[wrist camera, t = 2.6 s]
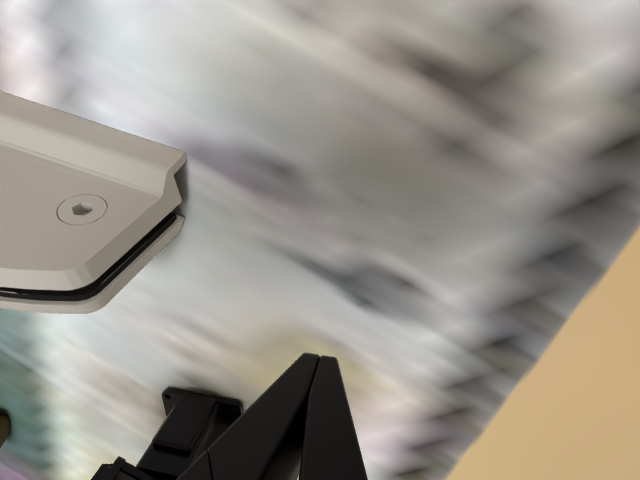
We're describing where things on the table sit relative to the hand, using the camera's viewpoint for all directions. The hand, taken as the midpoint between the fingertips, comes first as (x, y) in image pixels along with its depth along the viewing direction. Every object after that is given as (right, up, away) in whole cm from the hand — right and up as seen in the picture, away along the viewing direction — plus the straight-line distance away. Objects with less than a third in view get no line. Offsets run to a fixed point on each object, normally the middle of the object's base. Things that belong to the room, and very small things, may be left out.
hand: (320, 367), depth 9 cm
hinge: (-16, +7, +14) cm, 22 cm away
